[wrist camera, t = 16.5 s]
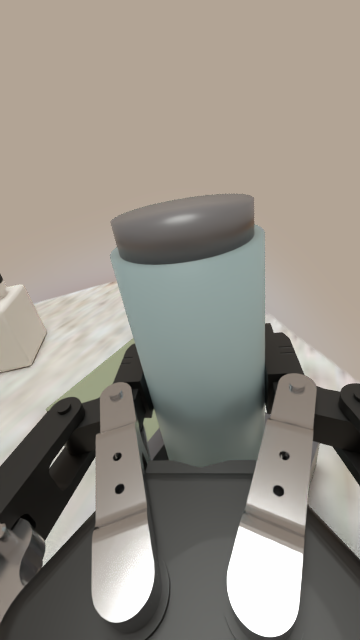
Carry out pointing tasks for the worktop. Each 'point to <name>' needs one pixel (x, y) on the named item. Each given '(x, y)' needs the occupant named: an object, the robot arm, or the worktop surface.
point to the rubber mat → (101, 380)
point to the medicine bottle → (18, 328)
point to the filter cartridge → (198, 321)
